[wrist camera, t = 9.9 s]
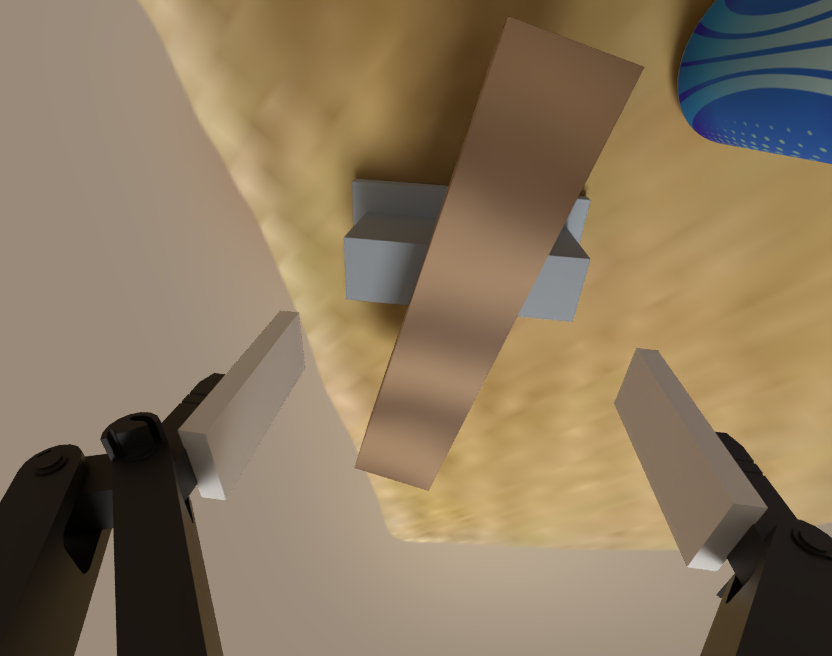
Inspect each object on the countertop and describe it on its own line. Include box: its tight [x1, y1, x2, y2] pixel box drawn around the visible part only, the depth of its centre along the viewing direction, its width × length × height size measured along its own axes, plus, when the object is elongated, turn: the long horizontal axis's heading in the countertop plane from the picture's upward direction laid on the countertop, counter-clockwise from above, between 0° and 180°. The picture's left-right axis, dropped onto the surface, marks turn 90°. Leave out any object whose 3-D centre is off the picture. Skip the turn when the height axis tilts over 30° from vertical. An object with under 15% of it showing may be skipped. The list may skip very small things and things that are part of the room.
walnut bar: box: [355, 16, 644, 491], centre depth 22 cm, size 24×5×5 cm, turn 163°
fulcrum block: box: [344, 179, 591, 322], centre depth 27 cm, size 8×16×7 cm, turn 87°
